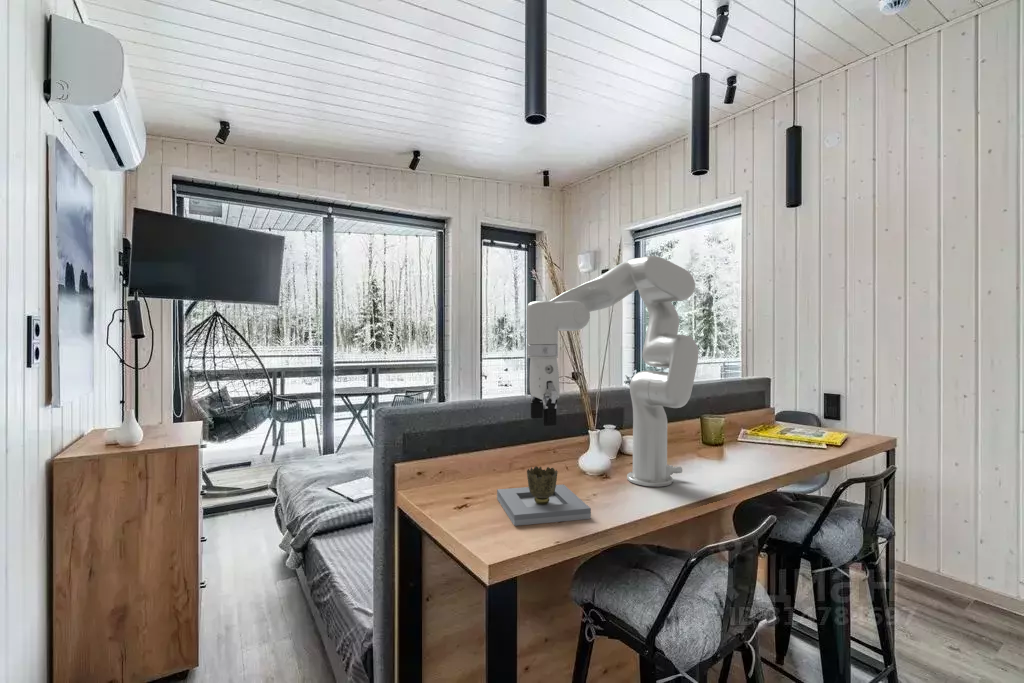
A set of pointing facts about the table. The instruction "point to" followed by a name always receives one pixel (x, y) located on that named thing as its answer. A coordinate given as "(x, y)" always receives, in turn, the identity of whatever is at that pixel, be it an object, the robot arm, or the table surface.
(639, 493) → the table surface
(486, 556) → the table surface
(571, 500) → the display stand
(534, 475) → the cup
